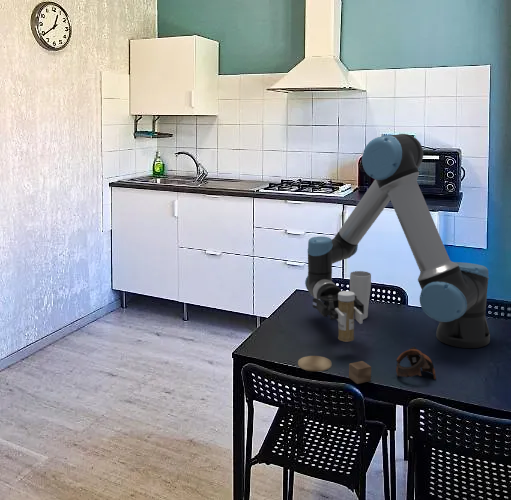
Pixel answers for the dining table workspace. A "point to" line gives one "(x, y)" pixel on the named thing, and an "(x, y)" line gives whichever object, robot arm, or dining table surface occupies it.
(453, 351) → the dining table surface
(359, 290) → the drinking glass
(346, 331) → the sprinkles bottle
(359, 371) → the walnut block
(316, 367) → the cork coaster
